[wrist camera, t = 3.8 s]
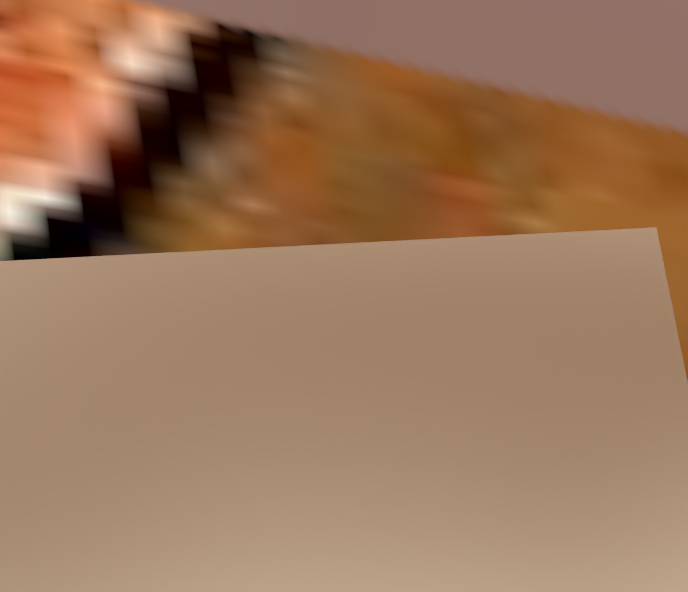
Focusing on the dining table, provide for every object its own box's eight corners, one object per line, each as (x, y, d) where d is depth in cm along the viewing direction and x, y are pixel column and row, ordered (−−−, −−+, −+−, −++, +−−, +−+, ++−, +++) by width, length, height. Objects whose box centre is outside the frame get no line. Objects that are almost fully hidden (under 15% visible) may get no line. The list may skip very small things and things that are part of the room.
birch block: (399, 588, 15) (804, 954, 4) (173, 621, 14) (-15, 1181, 3) (375, 369, 16) (655, 227, 5) (162, 387, 15) (-12, 261, 4)
